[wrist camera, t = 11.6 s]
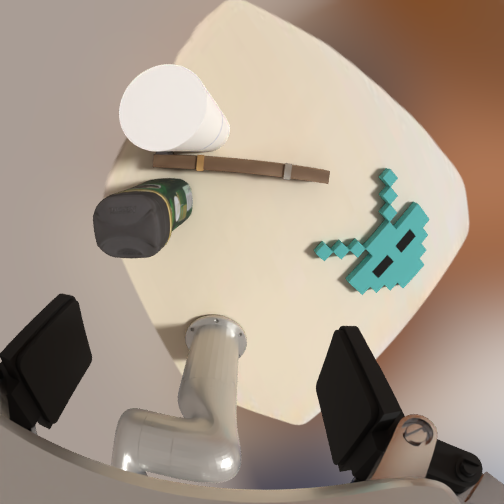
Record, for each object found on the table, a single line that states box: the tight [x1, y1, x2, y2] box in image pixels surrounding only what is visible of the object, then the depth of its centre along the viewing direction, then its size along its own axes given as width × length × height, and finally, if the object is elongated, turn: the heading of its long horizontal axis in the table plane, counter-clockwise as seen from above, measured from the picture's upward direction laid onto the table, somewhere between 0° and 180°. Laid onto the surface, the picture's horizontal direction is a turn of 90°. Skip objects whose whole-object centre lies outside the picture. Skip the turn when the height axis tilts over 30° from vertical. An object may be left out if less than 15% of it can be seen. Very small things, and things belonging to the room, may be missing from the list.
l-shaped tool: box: [153, 151, 330, 184], centre depth 40 cm, size 10×27×4 cm, turn 84°
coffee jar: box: [93, 178, 193, 258], centre depth 37 cm, size 10×8×19 cm
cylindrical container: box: [119, 64, 230, 152], centre depth 30 cm, size 7×7×25 cm
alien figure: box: [314, 168, 429, 295], centre depth 48 cm, size 20×2×20 cm
